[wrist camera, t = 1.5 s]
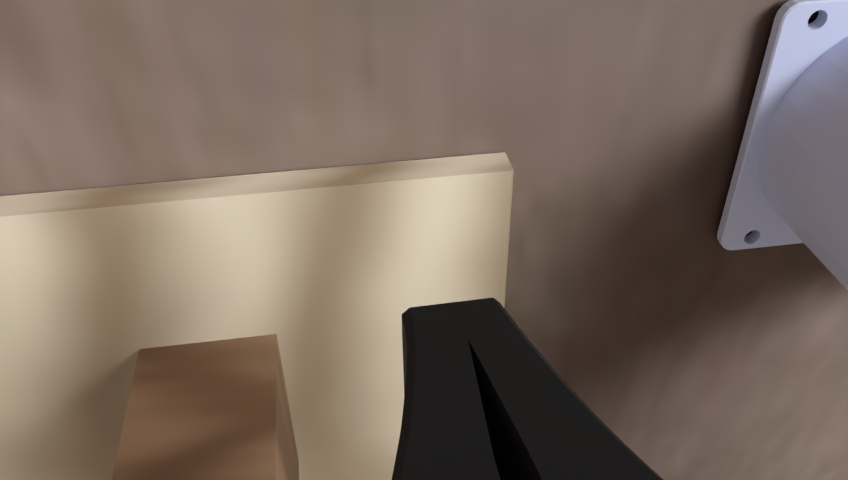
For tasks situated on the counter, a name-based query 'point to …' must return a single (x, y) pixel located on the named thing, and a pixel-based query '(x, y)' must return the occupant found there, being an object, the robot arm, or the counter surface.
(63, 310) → the birch board
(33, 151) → the counter surface
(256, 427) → the walnut block
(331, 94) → the counter surface
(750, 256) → the counter surface
